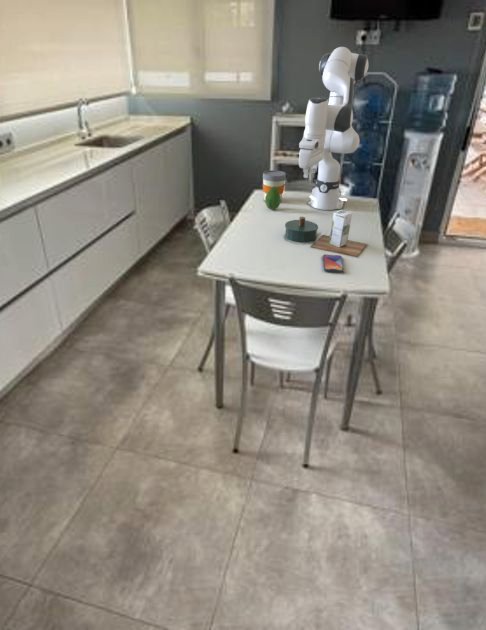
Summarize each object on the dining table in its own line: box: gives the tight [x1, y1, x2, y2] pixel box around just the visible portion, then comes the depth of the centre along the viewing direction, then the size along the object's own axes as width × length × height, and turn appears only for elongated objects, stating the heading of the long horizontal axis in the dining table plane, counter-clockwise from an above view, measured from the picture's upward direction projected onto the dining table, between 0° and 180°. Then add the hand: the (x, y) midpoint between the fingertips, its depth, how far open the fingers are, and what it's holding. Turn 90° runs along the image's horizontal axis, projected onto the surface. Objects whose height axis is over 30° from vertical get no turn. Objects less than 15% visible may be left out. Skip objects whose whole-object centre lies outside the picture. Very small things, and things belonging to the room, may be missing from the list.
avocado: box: [264, 186, 281, 211], centre depth 233 cm, size 8×8×12 cm
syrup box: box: [329, 209, 353, 248], centre depth 191 cm, size 6×6×14 cm
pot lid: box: [284, 216, 319, 233], centre depth 199 cm, size 15×15×5 cm
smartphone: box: [322, 253, 345, 273], centre depth 178 cm, size 7×15×1 cm, turn 171°
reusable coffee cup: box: [262, 169, 287, 202], centre depth 245 cm, size 13×13×15 cm
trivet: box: [311, 234, 367, 258], centre depth 195 cm, size 15×20×1 cm
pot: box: [284, 227, 318, 244], centre depth 201 cm, size 14×14×5 cm
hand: (310, 175), depth 191 cm, fingers open, 8 cm apart
